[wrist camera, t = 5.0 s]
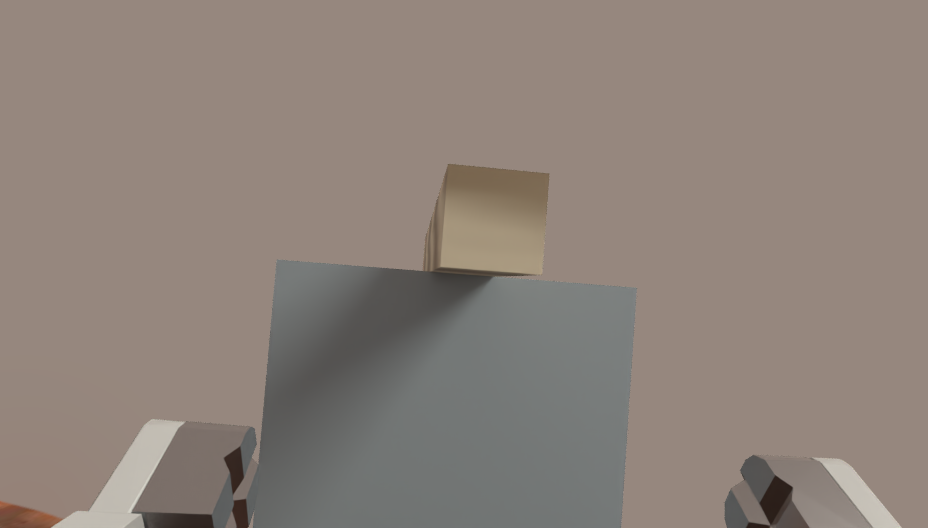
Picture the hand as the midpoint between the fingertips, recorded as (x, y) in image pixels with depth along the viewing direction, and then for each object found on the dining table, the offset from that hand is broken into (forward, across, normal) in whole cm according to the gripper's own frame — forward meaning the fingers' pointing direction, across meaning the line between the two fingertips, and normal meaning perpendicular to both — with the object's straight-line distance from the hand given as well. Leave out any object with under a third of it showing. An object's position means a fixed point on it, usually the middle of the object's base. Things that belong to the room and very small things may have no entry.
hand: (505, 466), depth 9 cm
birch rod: (+16, 0, +5) cm, 16 cm away
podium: (+4, 0, +29) cm, 29 cm away
